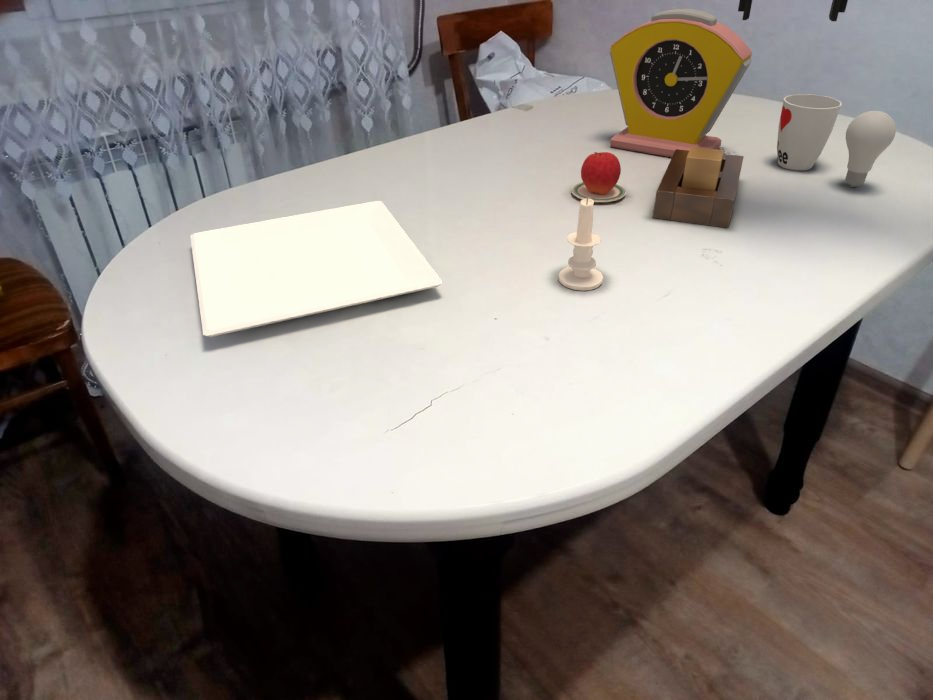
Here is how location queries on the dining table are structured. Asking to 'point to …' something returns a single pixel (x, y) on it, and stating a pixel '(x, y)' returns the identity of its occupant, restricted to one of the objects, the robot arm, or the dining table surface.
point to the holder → (697, 194)
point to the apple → (600, 178)
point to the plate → (304, 266)
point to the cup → (805, 129)
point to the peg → (702, 168)
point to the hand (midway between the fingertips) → (788, 18)
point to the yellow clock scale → (675, 80)
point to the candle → (582, 253)
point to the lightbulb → (867, 143)
